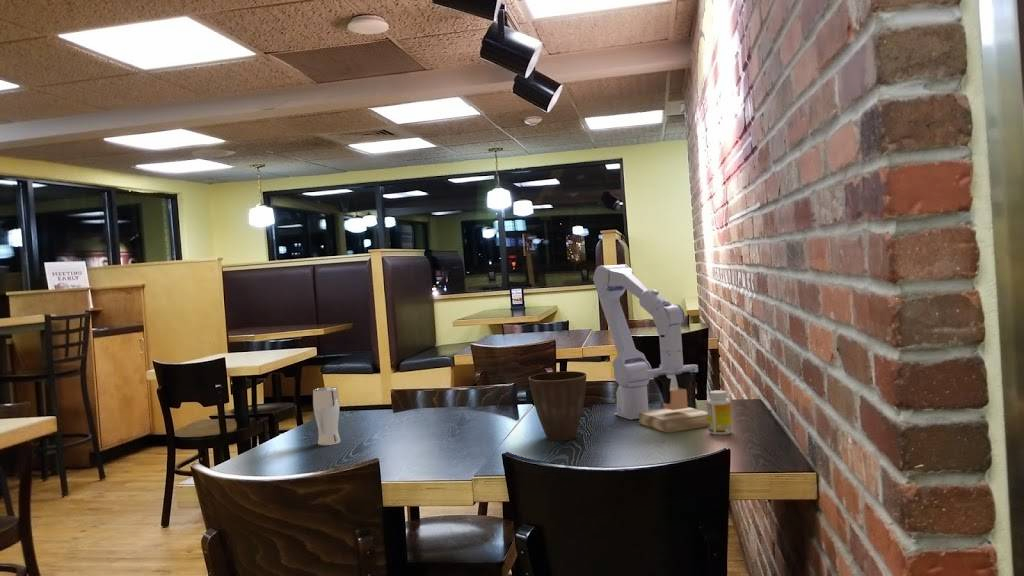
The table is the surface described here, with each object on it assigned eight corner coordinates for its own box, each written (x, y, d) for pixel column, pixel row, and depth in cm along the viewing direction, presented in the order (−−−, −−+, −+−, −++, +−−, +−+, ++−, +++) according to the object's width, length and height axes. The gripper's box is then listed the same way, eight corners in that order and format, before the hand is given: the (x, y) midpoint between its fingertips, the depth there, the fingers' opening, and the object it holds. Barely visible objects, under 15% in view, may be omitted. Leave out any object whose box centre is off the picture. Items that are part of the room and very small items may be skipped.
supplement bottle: (736, 432, 175) (734, 390, 175) (723, 436, 171) (720, 394, 171) (717, 429, 179) (714, 389, 179) (704, 433, 176) (701, 392, 176)
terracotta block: (663, 407, 190) (662, 389, 190) (678, 405, 191) (676, 387, 191) (672, 410, 185) (671, 391, 185) (687, 407, 187) (686, 389, 187)
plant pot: (601, 438, 178) (596, 375, 178) (546, 447, 173) (541, 382, 173) (575, 428, 192) (571, 369, 192) (524, 436, 187) (519, 375, 187)
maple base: (639, 423, 193) (638, 412, 193) (683, 416, 197) (683, 405, 197) (667, 432, 180) (667, 420, 179) (714, 425, 184) (713, 413, 184)
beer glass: (319, 447, 191) (315, 392, 191) (313, 443, 198) (309, 389, 197) (345, 443, 195) (340, 388, 194) (338, 438, 201) (334, 386, 201)
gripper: (655, 354, 182) (659, 407, 182) (703, 349, 187) (706, 400, 187) (641, 352, 189) (644, 403, 189) (688, 347, 194) (691, 397, 194)
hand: (674, 402), depth 188 cm, fingers closed on terracotta block, 4 cm apart
